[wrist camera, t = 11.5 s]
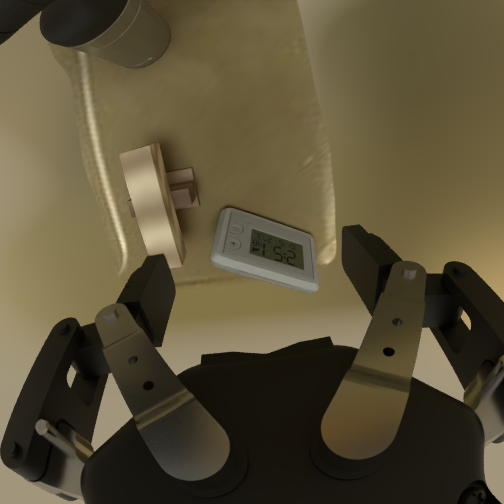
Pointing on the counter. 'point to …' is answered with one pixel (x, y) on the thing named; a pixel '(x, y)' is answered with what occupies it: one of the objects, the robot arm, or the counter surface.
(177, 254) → the beige long bar
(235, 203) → the counter surface
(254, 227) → the digital clock
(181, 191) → the walnut ridge
